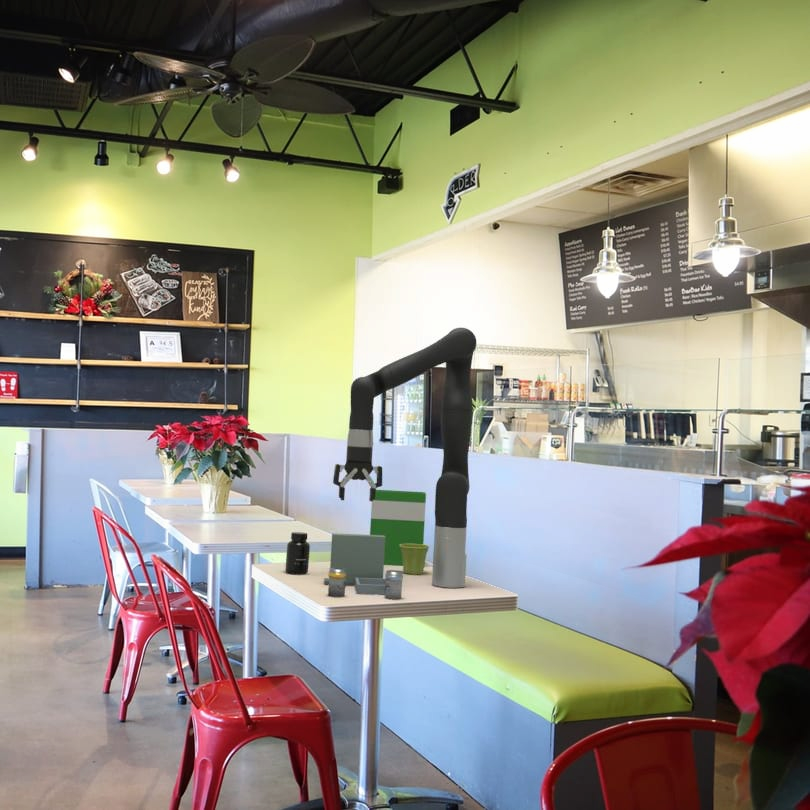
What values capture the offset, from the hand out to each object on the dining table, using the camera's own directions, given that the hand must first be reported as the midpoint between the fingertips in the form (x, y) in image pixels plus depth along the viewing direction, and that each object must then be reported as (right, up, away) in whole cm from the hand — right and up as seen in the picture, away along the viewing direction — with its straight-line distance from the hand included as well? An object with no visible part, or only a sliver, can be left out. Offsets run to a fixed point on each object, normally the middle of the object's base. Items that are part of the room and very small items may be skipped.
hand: (356, 500), depth 269 cm
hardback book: (+11, -25, +36) cm, 45 cm away
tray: (+6, -23, -16) cm, 29 cm away
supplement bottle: (-18, -23, +7) cm, 30 cm away
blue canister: (+11, -23, -25) cm, 36 cm away
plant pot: (+17, -25, +19) cm, 35 cm away
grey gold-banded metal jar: (-4, -22, -26) cm, 34 cm away
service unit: (0, -23, -7) cm, 24 cm away
